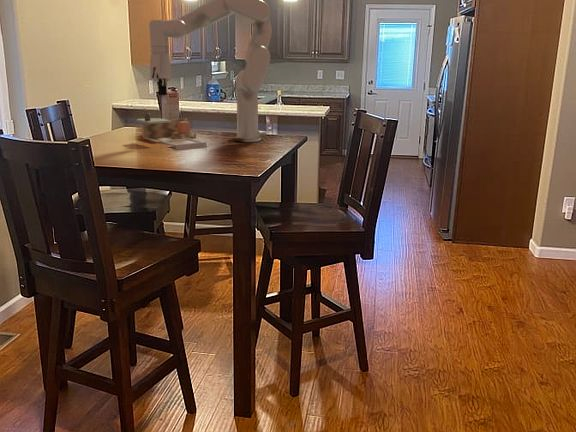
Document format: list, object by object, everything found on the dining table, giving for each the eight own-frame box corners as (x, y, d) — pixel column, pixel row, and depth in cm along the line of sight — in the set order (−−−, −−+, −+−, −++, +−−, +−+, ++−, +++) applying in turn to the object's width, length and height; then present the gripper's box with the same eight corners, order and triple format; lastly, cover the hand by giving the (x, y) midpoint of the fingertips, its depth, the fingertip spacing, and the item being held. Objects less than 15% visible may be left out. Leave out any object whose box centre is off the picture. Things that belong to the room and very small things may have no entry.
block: (185, 136, 254) (185, 121, 252) (190, 137, 251) (189, 122, 249) (177, 137, 252) (177, 121, 250) (182, 138, 249) (181, 122, 247)
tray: (189, 143, 246) (189, 138, 246) (206, 147, 236) (206, 142, 235) (160, 145, 238) (160, 140, 237) (176, 150, 227) (176, 144, 227)
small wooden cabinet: (186, 137, 262) (186, 118, 259) (200, 141, 252) (200, 121, 250) (142, 141, 249) (141, 121, 246) (156, 145, 239) (155, 124, 236)
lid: (157, 119, 251) (157, 111, 250) (171, 122, 241) (170, 113, 240) (136, 120, 244) (136, 112, 243) (149, 123, 235) (149, 114, 234)
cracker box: (180, 137, 262) (179, 92, 256) (167, 138, 260) (165, 92, 254) (174, 133, 275) (173, 90, 269) (162, 134, 272) (160, 90, 267)
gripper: (161, 51, 244) (164, 93, 249) (142, 50, 230) (145, 96, 235) (176, 50, 241) (179, 94, 246) (158, 50, 228) (161, 96, 233)
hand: (162, 95), depth 241 cm, fingers closed
